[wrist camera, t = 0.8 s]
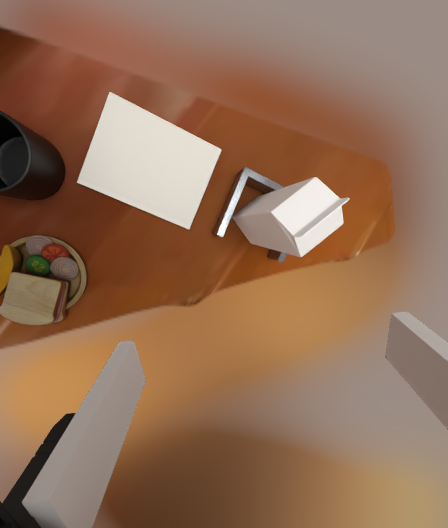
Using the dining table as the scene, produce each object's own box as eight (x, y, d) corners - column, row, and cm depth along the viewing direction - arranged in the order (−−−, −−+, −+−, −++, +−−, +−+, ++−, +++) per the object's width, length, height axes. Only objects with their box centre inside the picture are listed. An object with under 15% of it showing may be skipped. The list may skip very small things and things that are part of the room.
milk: (231, 217, 43) (281, 209, 22) (258, 196, 43) (334, 167, 22) (251, 244, 44) (317, 263, 23) (277, 223, 45) (366, 223, 23)
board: (79, 183, 38) (76, 182, 37) (111, 95, 37) (109, 91, 36) (188, 229, 42) (189, 229, 41) (220, 151, 41) (221, 149, 40)
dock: (212, 233, 43) (217, 234, 38) (237, 173, 42) (245, 166, 37) (271, 258, 46) (282, 262, 41) (296, 202, 45) (310, 200, 40)
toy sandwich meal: (99, 252, 40) (89, 256, 36) (72, 326, 41) (59, 339, 37) (15, 222, 37) (-7, 222, 33) (-12, 303, 38) (-37, 313, 34)
